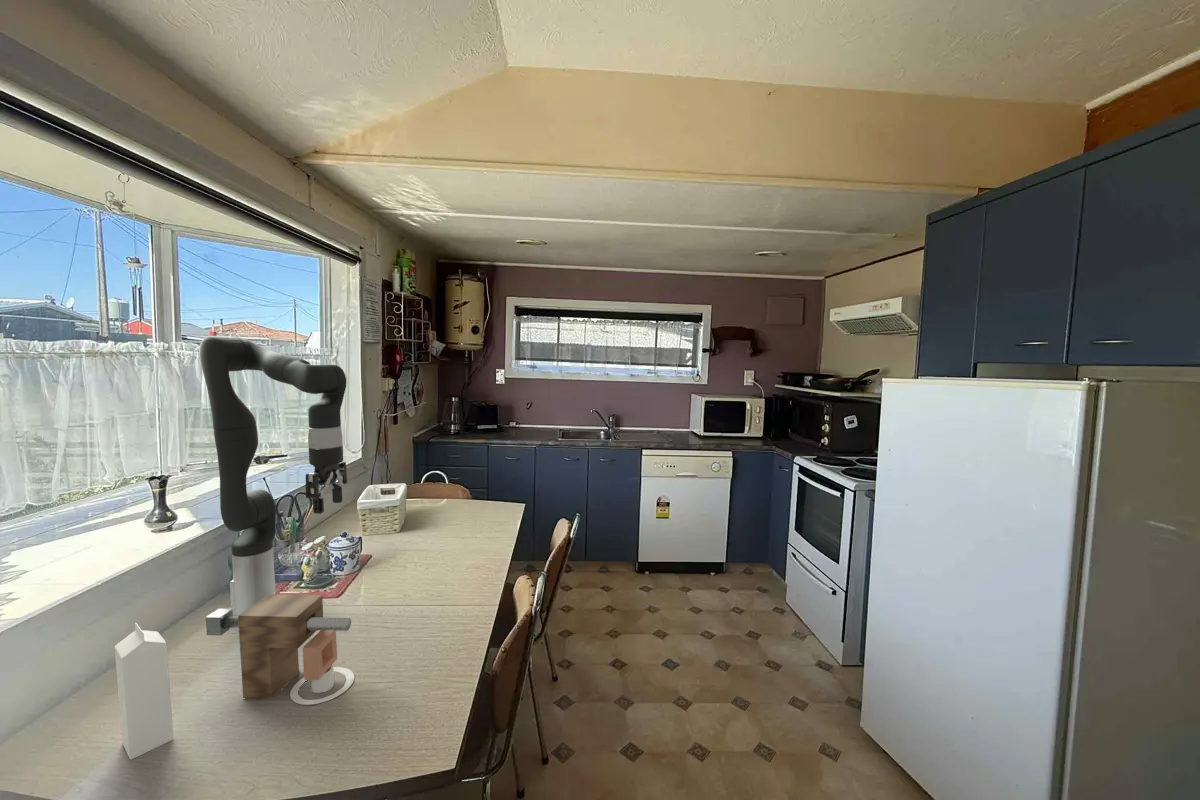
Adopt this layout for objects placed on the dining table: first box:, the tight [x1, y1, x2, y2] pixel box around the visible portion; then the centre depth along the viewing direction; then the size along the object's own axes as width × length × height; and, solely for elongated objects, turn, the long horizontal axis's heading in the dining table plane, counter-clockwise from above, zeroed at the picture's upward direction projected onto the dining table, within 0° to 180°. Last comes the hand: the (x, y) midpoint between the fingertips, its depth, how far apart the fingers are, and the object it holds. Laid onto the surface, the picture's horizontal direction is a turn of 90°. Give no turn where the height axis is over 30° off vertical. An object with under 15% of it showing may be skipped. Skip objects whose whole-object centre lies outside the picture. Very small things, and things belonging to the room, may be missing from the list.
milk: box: [114, 622, 174, 761], centre depth 89 cm, size 6×6×22 cm
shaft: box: [205, 608, 352, 637], centre depth 105 cm, size 29×4×4 cm, turn 89°
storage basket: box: [356, 482, 408, 536], centre depth 203 cm, size 24×16×15 cm
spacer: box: [302, 630, 338, 681], centre depth 105 cm, size 3×7×7 cm, turn 179°
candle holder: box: [289, 664, 355, 706], centre depth 106 cm, size 12×12×4 cm
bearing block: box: [238, 593, 324, 701], centre depth 105 cm, size 12×9×18 cm
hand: (328, 507), depth 125 cm, fingers open, 8 cm apart
